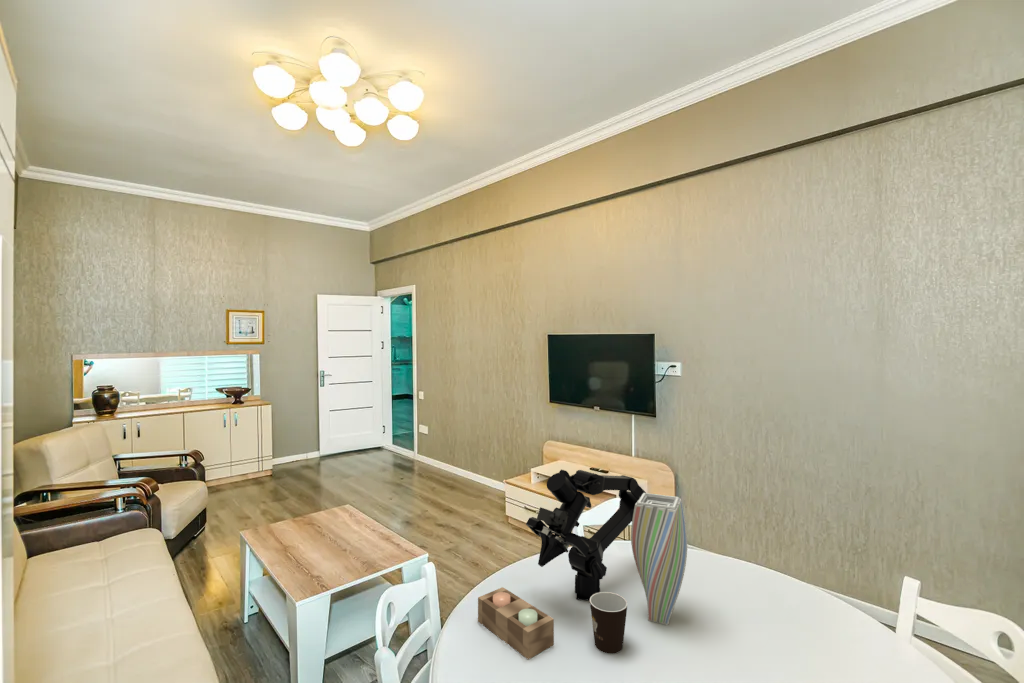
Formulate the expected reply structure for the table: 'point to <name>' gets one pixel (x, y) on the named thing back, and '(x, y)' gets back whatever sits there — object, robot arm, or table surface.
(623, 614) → the brown paper cup
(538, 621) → the wooden compartment box
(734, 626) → the table surface
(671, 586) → the vase
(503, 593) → the peach orange egg
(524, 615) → the pale green egg
